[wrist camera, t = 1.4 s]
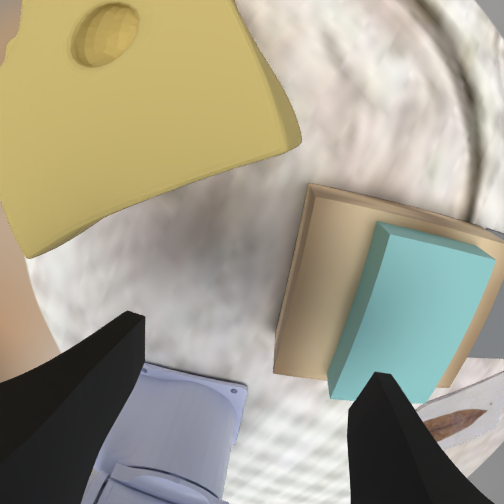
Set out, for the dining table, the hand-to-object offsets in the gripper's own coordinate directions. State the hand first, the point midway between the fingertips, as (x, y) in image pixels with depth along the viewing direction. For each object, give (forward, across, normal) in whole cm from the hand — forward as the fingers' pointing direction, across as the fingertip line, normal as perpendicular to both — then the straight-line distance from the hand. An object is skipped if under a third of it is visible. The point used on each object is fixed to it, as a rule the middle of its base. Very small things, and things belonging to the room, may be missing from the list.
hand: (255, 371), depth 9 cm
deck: (+10, -7, +1) cm, 13 cm away
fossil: (+10, -20, +14) cm, 27 cm away
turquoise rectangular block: (+6, -7, +1) cm, 10 cm away
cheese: (+11, +7, -7) cm, 15 cm away
